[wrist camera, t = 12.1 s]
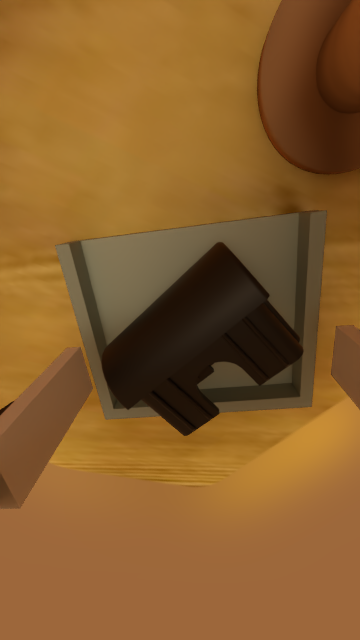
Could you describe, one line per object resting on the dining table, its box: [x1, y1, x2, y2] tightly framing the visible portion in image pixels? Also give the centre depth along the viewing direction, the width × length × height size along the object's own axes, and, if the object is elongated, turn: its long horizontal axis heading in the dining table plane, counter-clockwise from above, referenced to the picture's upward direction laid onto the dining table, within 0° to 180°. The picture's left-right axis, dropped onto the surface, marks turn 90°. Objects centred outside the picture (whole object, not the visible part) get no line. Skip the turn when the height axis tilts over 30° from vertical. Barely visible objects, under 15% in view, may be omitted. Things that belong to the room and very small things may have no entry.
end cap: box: [101, 242, 304, 436], centre depth 16 cm, size 10×7×7 cm
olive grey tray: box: [55, 210, 327, 419], centre depth 19 cm, size 17×14×3 cm
